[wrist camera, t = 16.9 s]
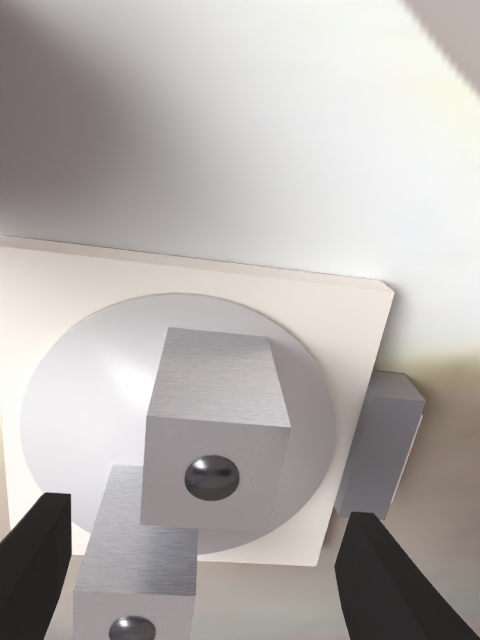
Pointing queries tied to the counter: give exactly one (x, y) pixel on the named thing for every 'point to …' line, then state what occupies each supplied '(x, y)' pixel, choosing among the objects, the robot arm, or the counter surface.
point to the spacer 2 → (214, 433)
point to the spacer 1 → (134, 571)
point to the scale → (141, 369)
